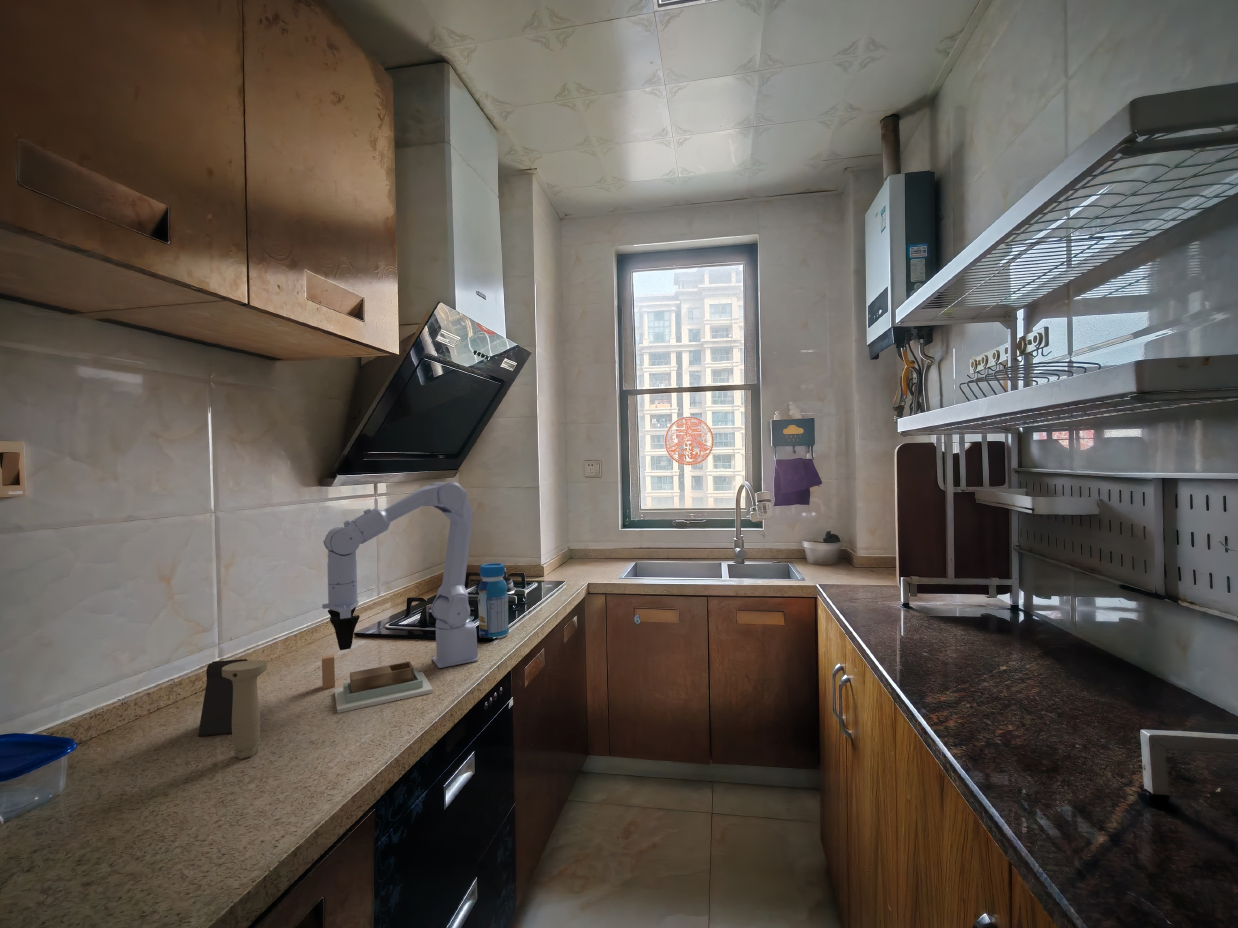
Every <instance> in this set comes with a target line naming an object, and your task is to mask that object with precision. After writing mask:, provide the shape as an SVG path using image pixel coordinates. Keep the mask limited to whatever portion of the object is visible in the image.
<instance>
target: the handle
mask: <svg viewBox="0 0 1238 928" xmlns="http://www.w3.org/2000/svg"><path fill="white" fill-rule="evenodd" d="M267 667H268V664H267V661H266V660H259V659H256V660H255V659H253V660H248V661H241V662H235V663H232V664H229V665H226V666H224V667H223V668H222V676H223V677H225V678H228V679H230V680H232V682H233V705H232V734H231V735H232V736H231V737H232V744H233V747H234V750H233V751H234V756H235V758H238V759H239V760H243V759H246V758H251V757H253V756H254V755H255V754H257V753H258V752H259V748H260V747H259V746H260V745H259V742H260V734H261V733H260V732H261V714H260V705H259V703H260V702H259V695H258V694H259V693H258V676H260V675H262V674H264V672H266V671H267Z"/></svg>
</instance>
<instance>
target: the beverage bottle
mask: <svg viewBox="0 0 1238 928" xmlns="http://www.w3.org/2000/svg"><path fill="white" fill-rule="evenodd" d="M479 576H480V578H481V581H480V582H479V585H478V588H477V593H478V597H477V603H478V604H477V605H478V607H477V608H478V626H479V627H478V629H479V631H478V634H479V635H480V636H487V637H497V638H498V639H502V638H505V637H507V636H508V635H509V633H510V631H509V629H510V628H509V595H508V593H507V591H508V584H507V583H506V581H505V579H504V578H503V577H505V564H503V563H499V562H495V563H494V562H493V563H492V562H491V563H485V564H481V565H480V566H479ZM480 636H479V637H480ZM498 639H497V640H498Z"/></svg>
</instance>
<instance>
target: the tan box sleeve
mask: <svg viewBox="0 0 1238 928" xmlns="http://www.w3.org/2000/svg"><path fill="white" fill-rule="evenodd" d="M414 670H415V668H414V666H413V664H412V663H411V660H410V661H404V662H400V663H394V664H388V665H384V666H383V665H382V666H377V667H373V668H367V669H361V670H355V671H350V672H349V682H350V692H351V693H356V692H361V691H366V690H371V689H376V688H381V687H386V686H391V685H396V684H401V683H406V682H411V681H414Z"/></svg>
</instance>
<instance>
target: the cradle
mask: <svg viewBox="0 0 1238 928" xmlns="http://www.w3.org/2000/svg"><path fill="white" fill-rule="evenodd" d="M342 685H343V686H342V687H338V688H334V696H335V697H334V698H335V705H336V710H337V711H336V712H337V714H340V713H344V712H345V713H346V712H349V711H355V710H359V709H364V708H368V707H373V706H377V705H382V704H386V703H390V702H396V700H397V701H399V700H400V699H401V700H405V699H409V698H410V699H411V698H414V697H419V696H423V695H428V694H434V691H433V690H434V689H433V687H432V686H431V683H430V682H429V680H428V679H427V677H426V675H425V674H424V672H423V671H421V672H420V671H418V669H417V668H416V669H415V668H414V681H411V682H406V683H401V684H396V685H391V686H386V687H381V688H376V689H371V690H366V691H361V692H356V693H351V692H350V681H349V682H344V683H343V684H342Z"/></svg>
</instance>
